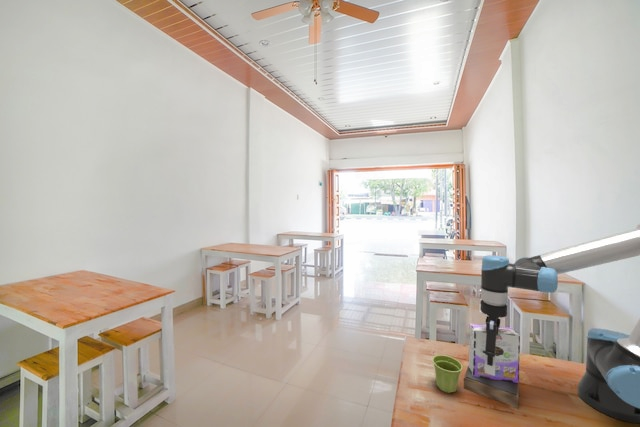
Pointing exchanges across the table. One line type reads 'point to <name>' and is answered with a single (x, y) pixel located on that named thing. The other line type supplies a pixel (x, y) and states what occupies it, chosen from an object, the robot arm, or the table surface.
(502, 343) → the candy box
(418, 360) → the table surface
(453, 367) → the plant pot
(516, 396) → the plinth
